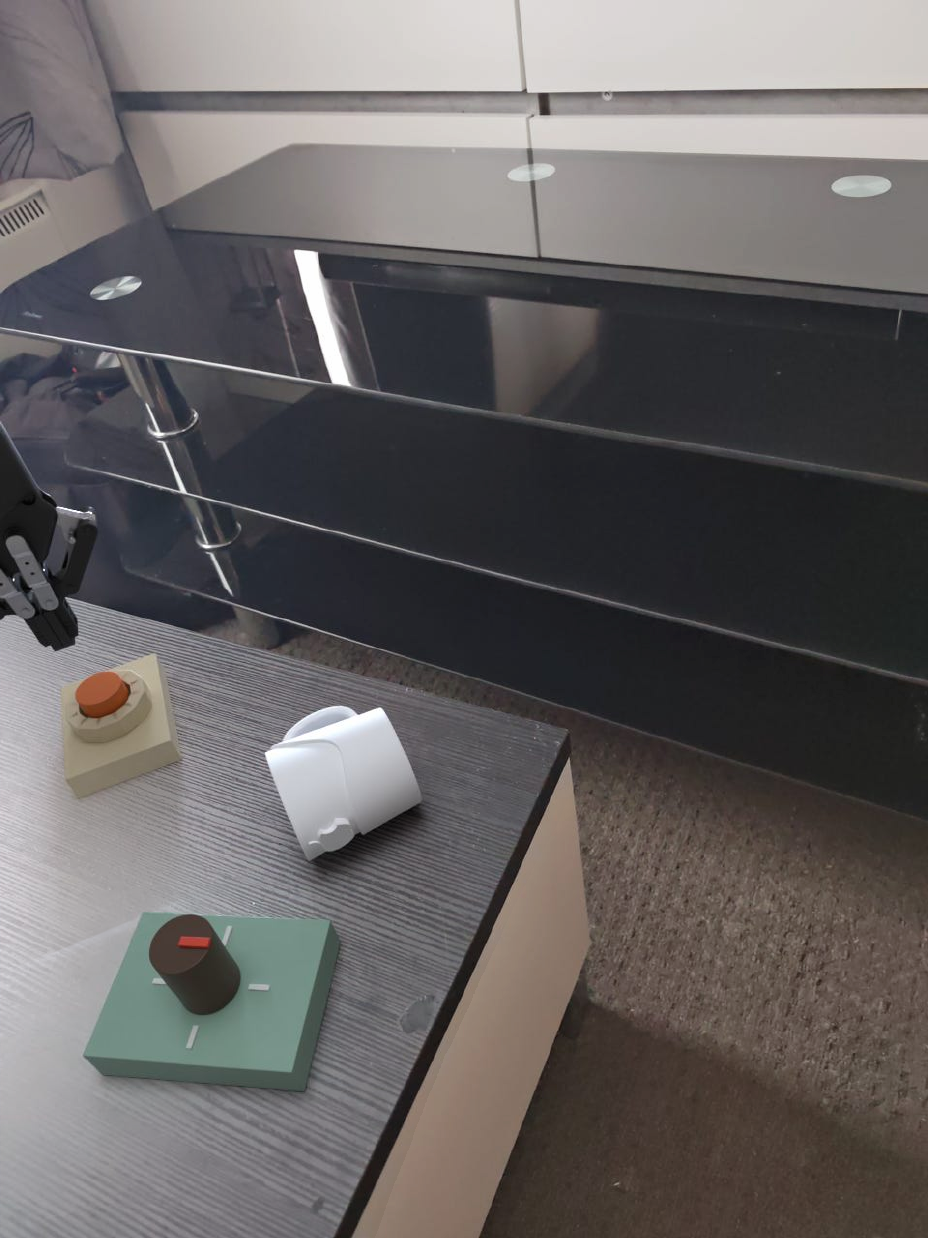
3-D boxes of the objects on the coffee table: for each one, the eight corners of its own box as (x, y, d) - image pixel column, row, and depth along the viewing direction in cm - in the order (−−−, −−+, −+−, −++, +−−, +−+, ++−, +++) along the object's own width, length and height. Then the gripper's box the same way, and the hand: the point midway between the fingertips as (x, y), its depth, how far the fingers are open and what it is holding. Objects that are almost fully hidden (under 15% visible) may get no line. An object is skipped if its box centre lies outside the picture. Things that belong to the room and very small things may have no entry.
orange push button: (130, 708, 79) (122, 694, 78) (84, 725, 78) (75, 711, 77) (127, 678, 82) (119, 665, 81) (82, 694, 81) (73, 681, 80)
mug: (433, 829, 70) (413, 763, 64) (318, 883, 68) (288, 820, 63) (379, 727, 78) (358, 661, 73) (276, 772, 76) (246, 708, 71)
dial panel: (101, 1075, 60) (80, 1055, 58) (158, 932, 67) (141, 910, 65) (304, 1092, 57) (290, 1071, 55) (341, 941, 64) (330, 918, 62)
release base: (182, 760, 79) (162, 725, 76) (78, 799, 78) (54, 766, 75) (166, 672, 88) (148, 638, 85) (72, 706, 86) (51, 673, 83)
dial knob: (171, 1013, 59) (136, 970, 55) (193, 954, 62) (160, 909, 58) (229, 1017, 58) (197, 974, 54) (248, 957, 61) (219, 912, 57)
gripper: (45, 384, 60) (147, 583, 72) (-162, 448, 58) (-22, 642, 70) (46, 434, 55) (157, 641, 66) (-182, 507, 53) (-27, 707, 64)
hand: (65, 641), depth 68 cm, fingers closed
